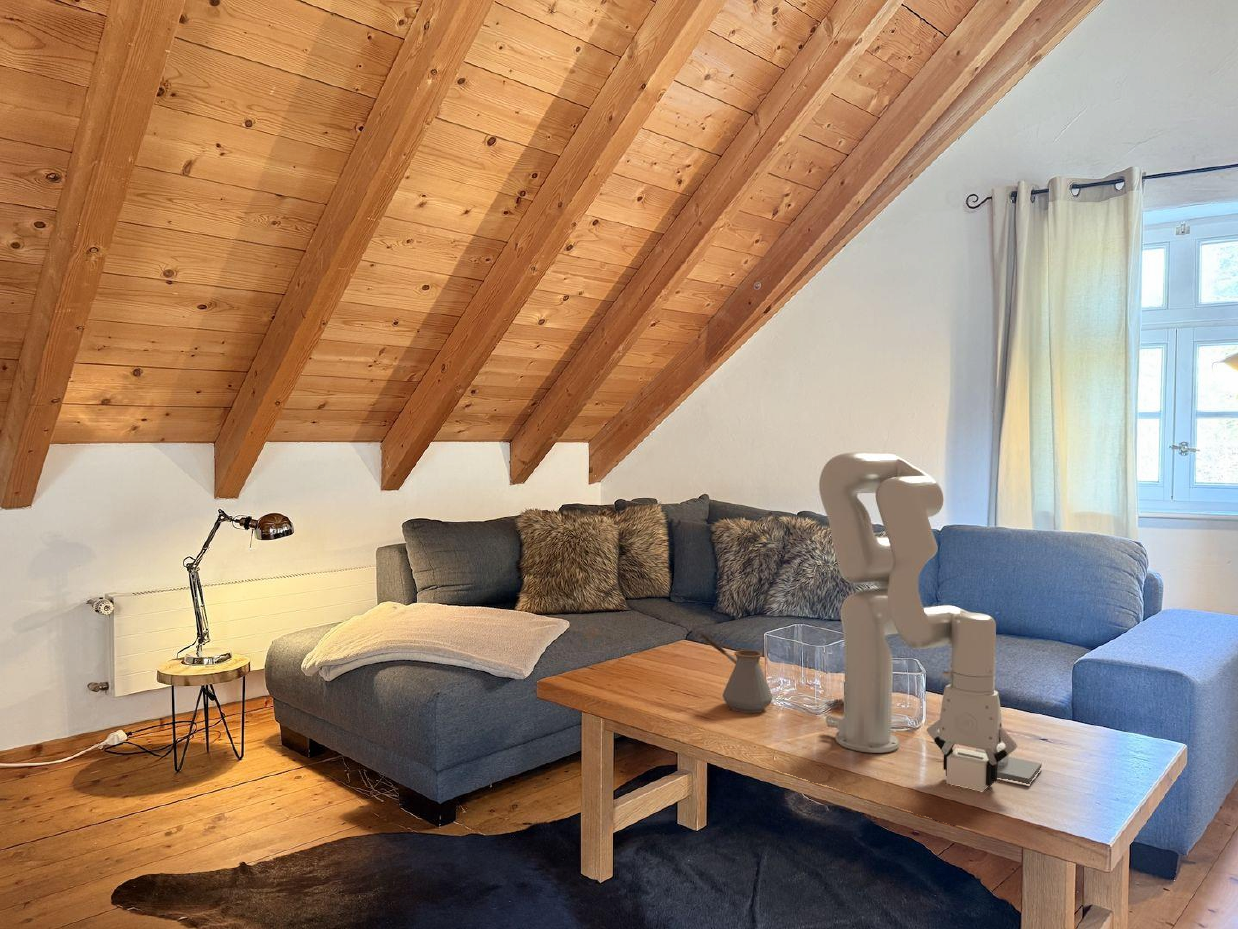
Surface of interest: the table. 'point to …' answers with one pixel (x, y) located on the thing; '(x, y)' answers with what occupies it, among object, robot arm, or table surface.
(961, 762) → the cream coin box
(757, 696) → the coffee pot
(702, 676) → the table surface
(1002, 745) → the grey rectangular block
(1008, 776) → the plate
